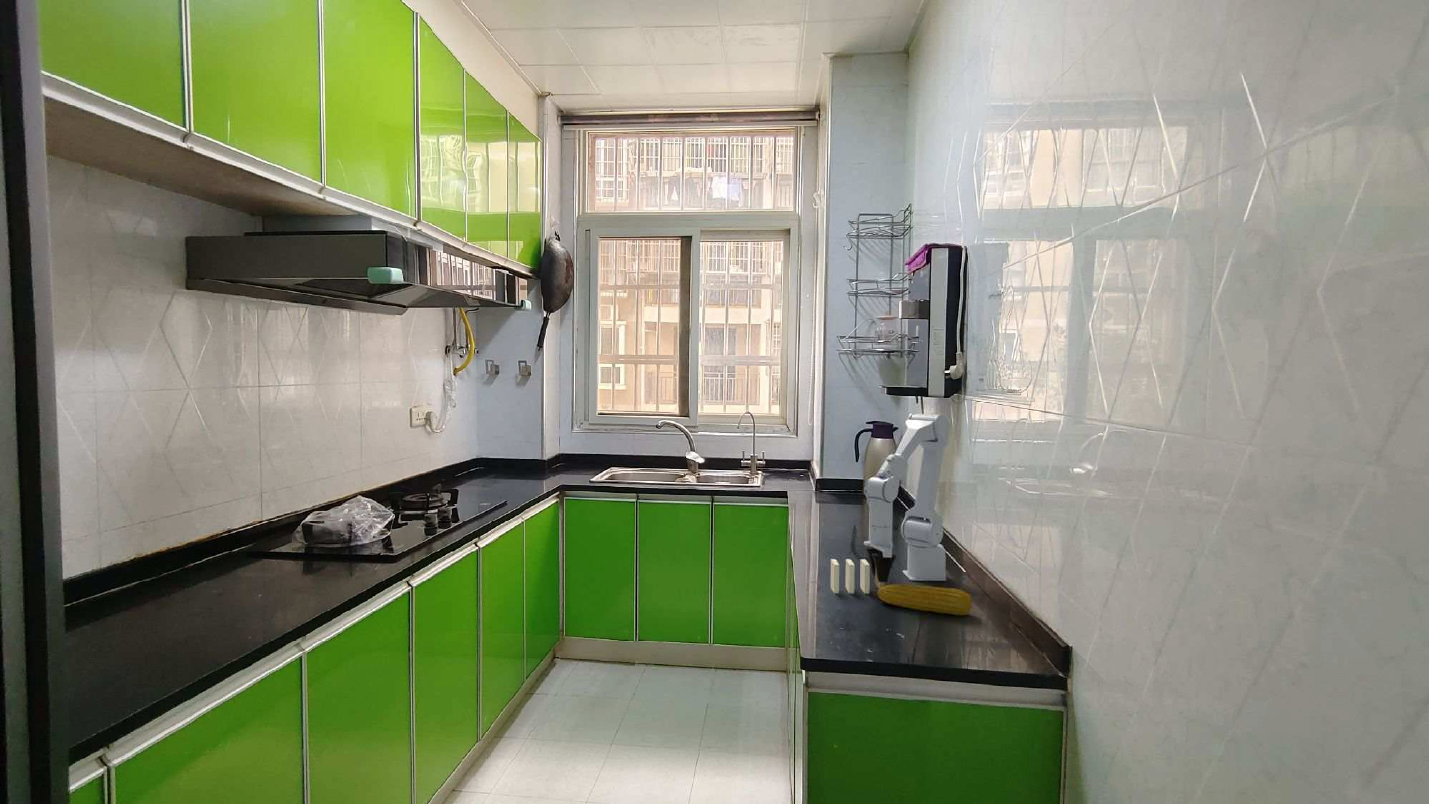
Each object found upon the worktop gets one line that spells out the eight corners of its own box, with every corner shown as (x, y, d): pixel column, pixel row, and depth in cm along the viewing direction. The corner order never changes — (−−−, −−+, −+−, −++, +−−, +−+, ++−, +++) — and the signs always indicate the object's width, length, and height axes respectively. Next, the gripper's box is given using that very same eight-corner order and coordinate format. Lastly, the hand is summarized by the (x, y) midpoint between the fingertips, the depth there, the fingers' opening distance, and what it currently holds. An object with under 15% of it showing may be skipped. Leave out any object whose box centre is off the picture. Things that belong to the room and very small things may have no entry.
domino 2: (850, 587, 171) (850, 559, 171) (854, 593, 166) (854, 564, 166) (845, 587, 171) (845, 559, 171) (849, 593, 166) (849, 564, 166)
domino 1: (835, 587, 171) (835, 559, 171) (838, 593, 166) (839, 564, 166) (830, 587, 171) (830, 559, 171) (834, 593, 166) (834, 564, 166)
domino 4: (879, 583, 171) (879, 555, 171) (884, 589, 166) (884, 560, 166) (874, 583, 171) (875, 555, 171) (879, 589, 166) (880, 560, 166)
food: (972, 613, 153) (972, 587, 152) (969, 621, 147) (970, 595, 147) (879, 599, 162) (879, 575, 162) (874, 606, 157) (874, 581, 157)
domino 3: (864, 587, 171) (865, 559, 171) (869, 593, 166) (869, 564, 166) (860, 587, 171) (860, 559, 171) (864, 593, 166) (864, 564, 166)
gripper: (858, 518, 175) (857, 570, 175) (871, 531, 161) (870, 587, 161) (885, 518, 175) (884, 570, 175) (900, 531, 161) (900, 587, 161)
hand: (879, 578), depth 168 cm, fingers closed on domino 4, 5 cm apart
